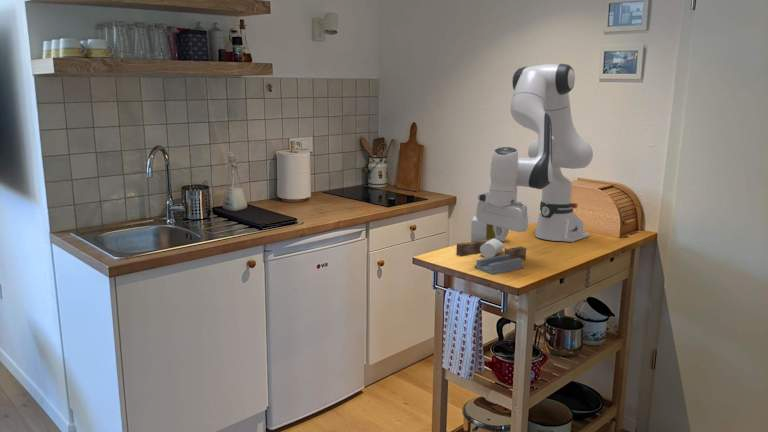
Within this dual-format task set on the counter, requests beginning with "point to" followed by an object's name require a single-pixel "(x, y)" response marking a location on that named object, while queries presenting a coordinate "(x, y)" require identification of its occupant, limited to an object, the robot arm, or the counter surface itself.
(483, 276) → the counter surface
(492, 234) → the flower pot
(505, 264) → the cradle
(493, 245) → the roll
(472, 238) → the small box
